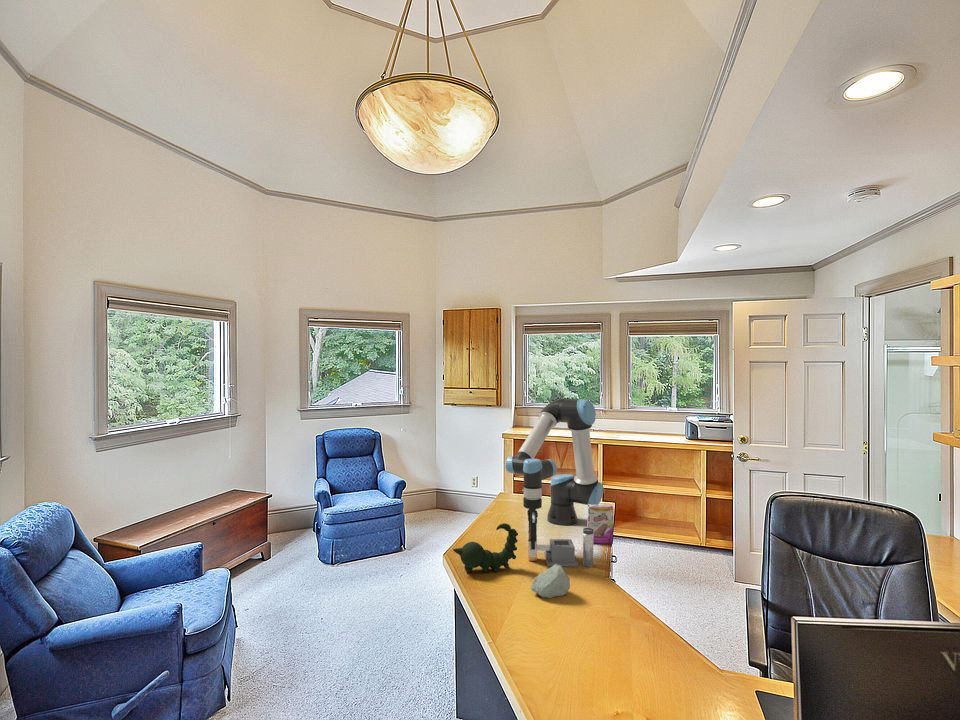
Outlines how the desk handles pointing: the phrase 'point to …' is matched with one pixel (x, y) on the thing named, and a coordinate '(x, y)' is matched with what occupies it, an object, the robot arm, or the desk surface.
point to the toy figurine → (488, 553)
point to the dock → (561, 553)
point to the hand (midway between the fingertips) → (532, 554)
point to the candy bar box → (601, 523)
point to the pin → (539, 549)
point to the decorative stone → (551, 582)
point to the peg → (588, 547)
